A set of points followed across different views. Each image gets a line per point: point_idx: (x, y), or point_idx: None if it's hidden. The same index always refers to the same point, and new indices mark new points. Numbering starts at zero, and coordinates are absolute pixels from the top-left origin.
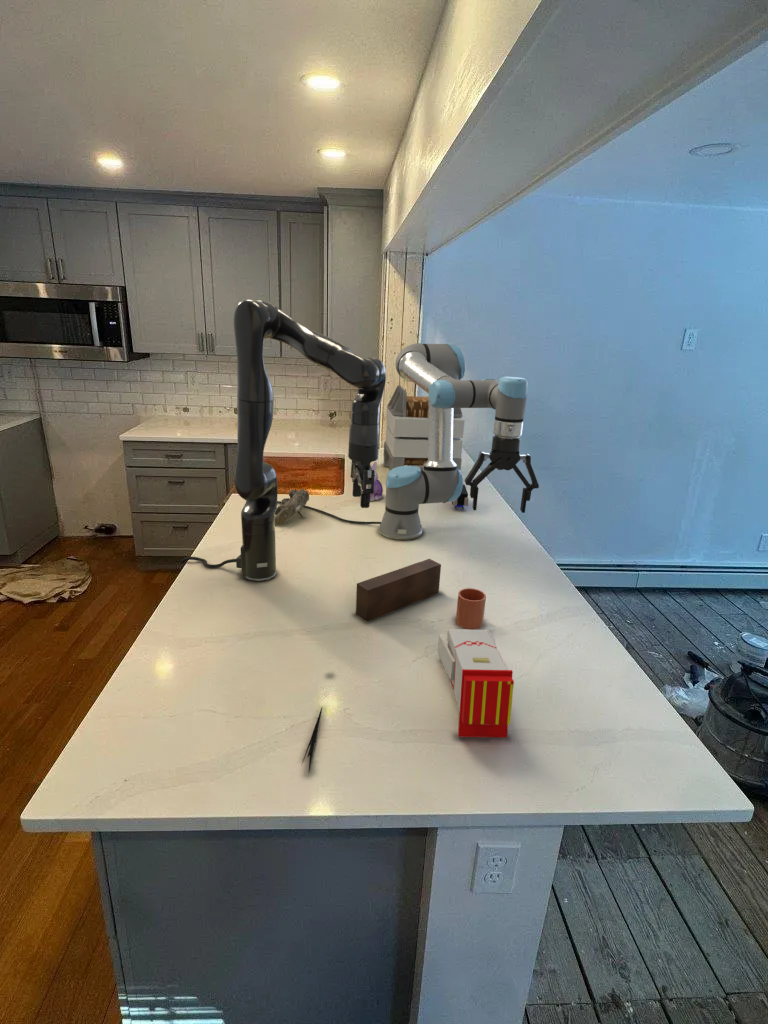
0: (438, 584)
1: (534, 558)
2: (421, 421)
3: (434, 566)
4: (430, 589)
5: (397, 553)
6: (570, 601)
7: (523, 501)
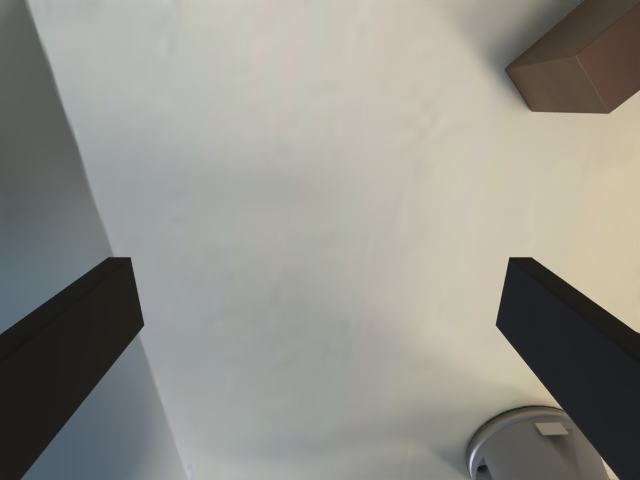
0: (527, 61)
1: (166, 340)
2: None
3: (613, 25)
4: (557, 32)
5: None
6: (71, 59)
7: (67, 314)
